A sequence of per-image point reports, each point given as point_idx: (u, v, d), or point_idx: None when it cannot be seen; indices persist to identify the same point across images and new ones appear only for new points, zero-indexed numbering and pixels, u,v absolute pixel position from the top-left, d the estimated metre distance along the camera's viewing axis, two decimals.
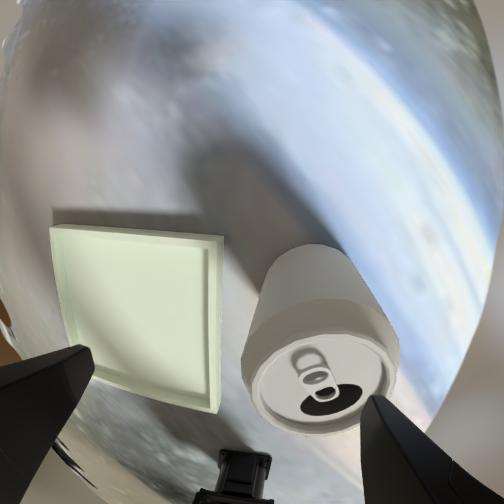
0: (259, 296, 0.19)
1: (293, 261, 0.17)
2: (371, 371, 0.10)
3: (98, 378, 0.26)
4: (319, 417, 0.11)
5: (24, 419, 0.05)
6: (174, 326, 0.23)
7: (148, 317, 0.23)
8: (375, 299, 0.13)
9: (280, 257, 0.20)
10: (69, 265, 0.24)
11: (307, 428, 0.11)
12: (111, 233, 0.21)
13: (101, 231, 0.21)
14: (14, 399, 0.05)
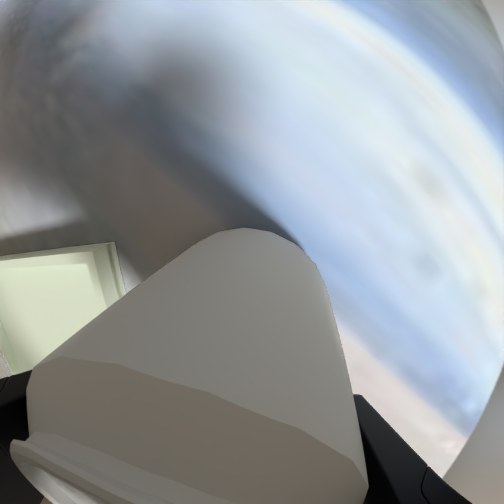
0: None
1: (168, 263, 0.09)
2: None
3: None
4: None
5: None
6: None
7: None
8: (296, 334, 0.05)
9: None
10: None
11: None
12: (8, 261, 0.14)
13: (2, 260, 0.14)
14: None
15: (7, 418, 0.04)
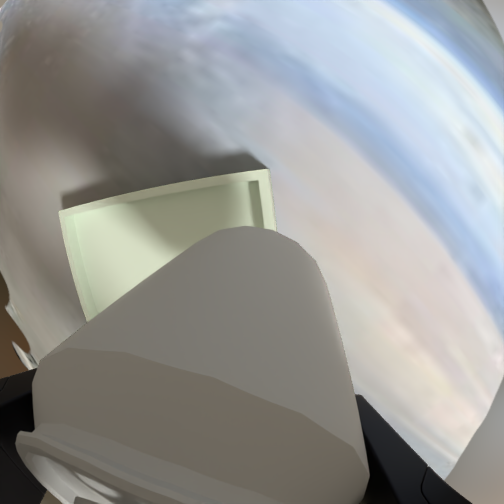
0: None
1: (171, 260, 0.10)
2: None
3: None
4: None
5: None
6: None
7: None
8: (297, 325, 0.05)
9: None
10: (86, 252, 0.21)
11: None
12: (134, 192, 0.18)
13: (122, 194, 0.18)
14: (28, 409, 0.04)
15: (7, 418, 0.04)
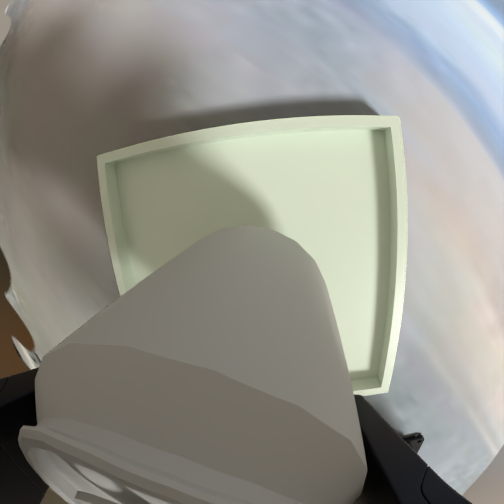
0: None
1: (171, 259, 0.10)
2: None
3: None
4: None
5: None
6: (332, 268, 0.15)
7: None
8: (295, 321, 0.05)
9: None
10: (131, 214, 0.16)
11: None
12: (225, 126, 0.13)
13: (203, 130, 0.13)
14: (29, 410, 0.04)
15: (7, 418, 0.04)
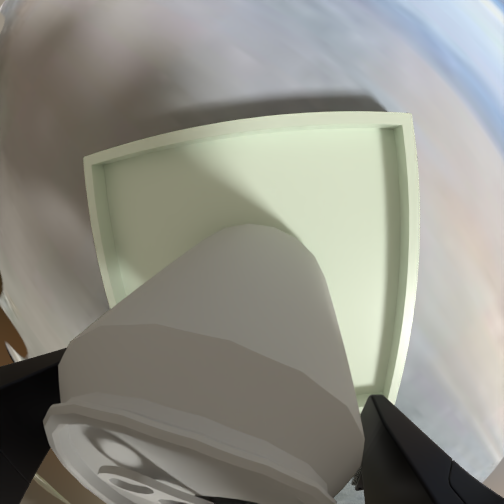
0: None
1: (181, 255, 0.10)
2: (268, 486, 0.03)
3: None
4: None
5: (24, 419, 0.05)
6: (337, 279, 0.14)
7: None
8: (297, 306, 0.06)
9: None
10: (120, 219, 0.15)
11: None
12: (220, 123, 0.12)
13: None
14: (14, 399, 0.05)
15: None
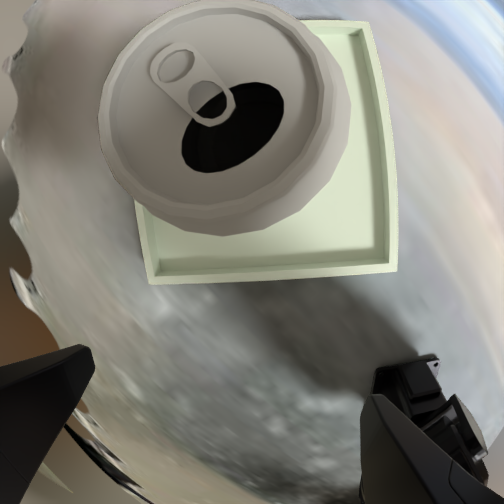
0: (183, 144, 0.14)
1: None
2: (277, 54, 0.06)
3: (189, 278, 0.19)
4: (224, 175, 0.07)
5: (24, 419, 0.05)
6: None
7: None
8: None
9: (208, 109, 0.16)
10: None
11: (207, 204, 0.07)
12: None
13: None
14: (14, 399, 0.05)
15: None
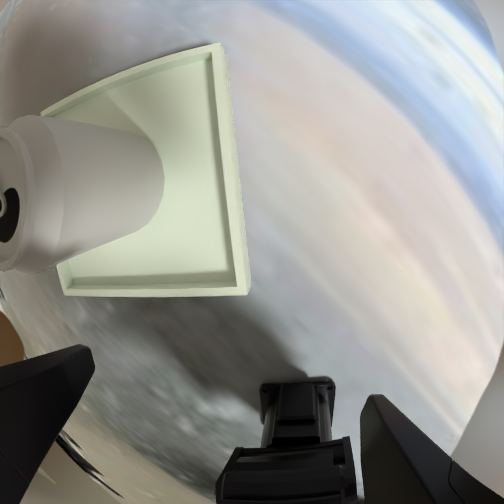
0: None
1: None
2: (16, 166, 0.08)
3: (86, 291, 0.21)
4: (8, 244, 0.09)
5: (24, 419, 0.05)
6: (177, 166, 0.18)
7: None
8: (72, 123, 0.10)
9: None
10: None
11: (3, 260, 0.09)
12: (106, 78, 0.16)
13: (96, 83, 0.16)
14: (14, 399, 0.05)
15: None
